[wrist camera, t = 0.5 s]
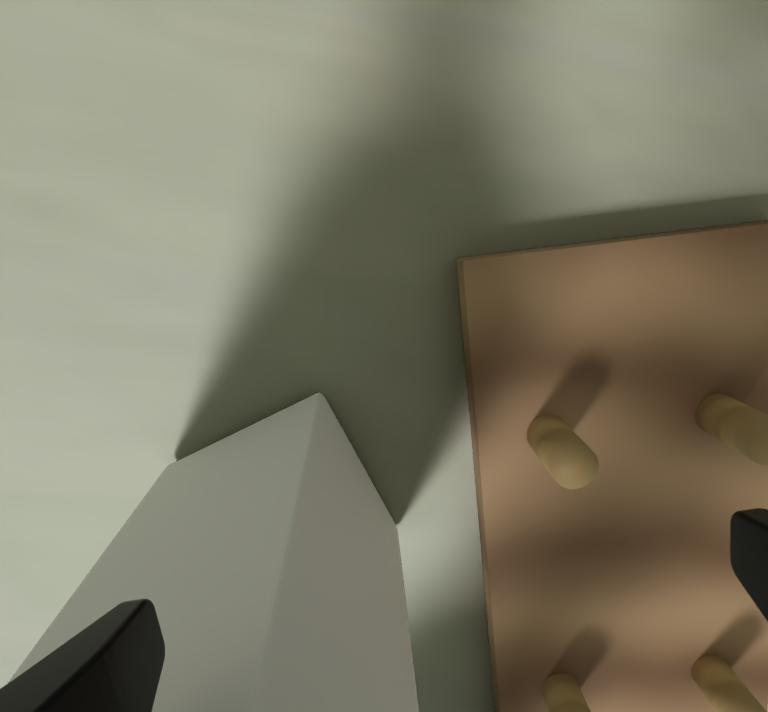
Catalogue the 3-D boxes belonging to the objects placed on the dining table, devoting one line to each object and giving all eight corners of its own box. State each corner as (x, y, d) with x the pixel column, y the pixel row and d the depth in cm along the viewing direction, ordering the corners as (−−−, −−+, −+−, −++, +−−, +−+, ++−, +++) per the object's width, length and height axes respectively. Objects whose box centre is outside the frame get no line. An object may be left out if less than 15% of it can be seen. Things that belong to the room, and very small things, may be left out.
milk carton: (321, 388, 22) (147, 1237, 4) (398, 527, 24) (525, 1553, 6) (167, 463, 23) (-611, 1513, 5) (254, 594, 25) (-50, 1724, 6)
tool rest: (742, 756, 28) (812, 857, 23) (501, 786, 28) (527, 892, 23) (766, 219, 21) (869, 220, 17) (456, 257, 21) (479, 268, 17)
